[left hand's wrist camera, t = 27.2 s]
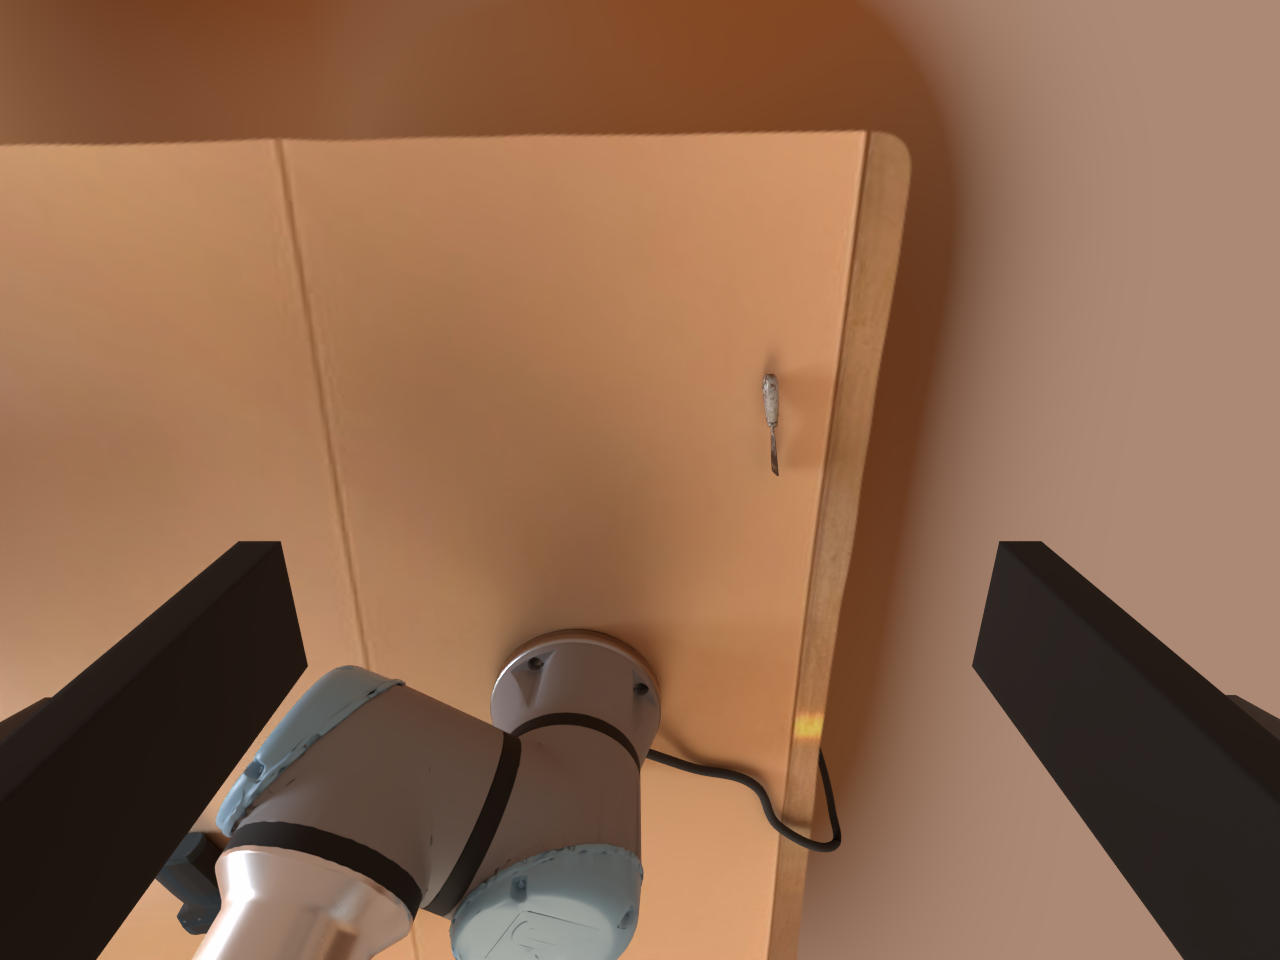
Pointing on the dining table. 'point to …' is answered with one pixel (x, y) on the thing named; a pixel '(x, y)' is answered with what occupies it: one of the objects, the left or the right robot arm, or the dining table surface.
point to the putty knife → (771, 412)
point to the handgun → (194, 882)
